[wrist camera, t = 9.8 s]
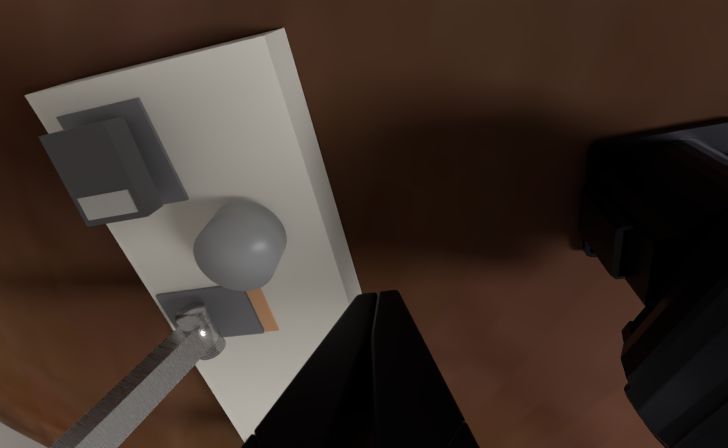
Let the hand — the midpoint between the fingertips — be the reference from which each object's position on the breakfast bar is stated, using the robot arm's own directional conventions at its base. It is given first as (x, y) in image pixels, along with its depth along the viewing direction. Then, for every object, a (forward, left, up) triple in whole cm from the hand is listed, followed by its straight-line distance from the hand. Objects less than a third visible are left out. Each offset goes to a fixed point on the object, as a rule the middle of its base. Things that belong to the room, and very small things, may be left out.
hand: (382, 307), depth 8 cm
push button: (+7, +3, -9) cm, 12 cm away
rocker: (+12, -1, -8) cm, 15 cm away
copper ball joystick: (+12, +8, -9) cm, 17 cm away
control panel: (+9, +10, -13) cm, 19 cm away
